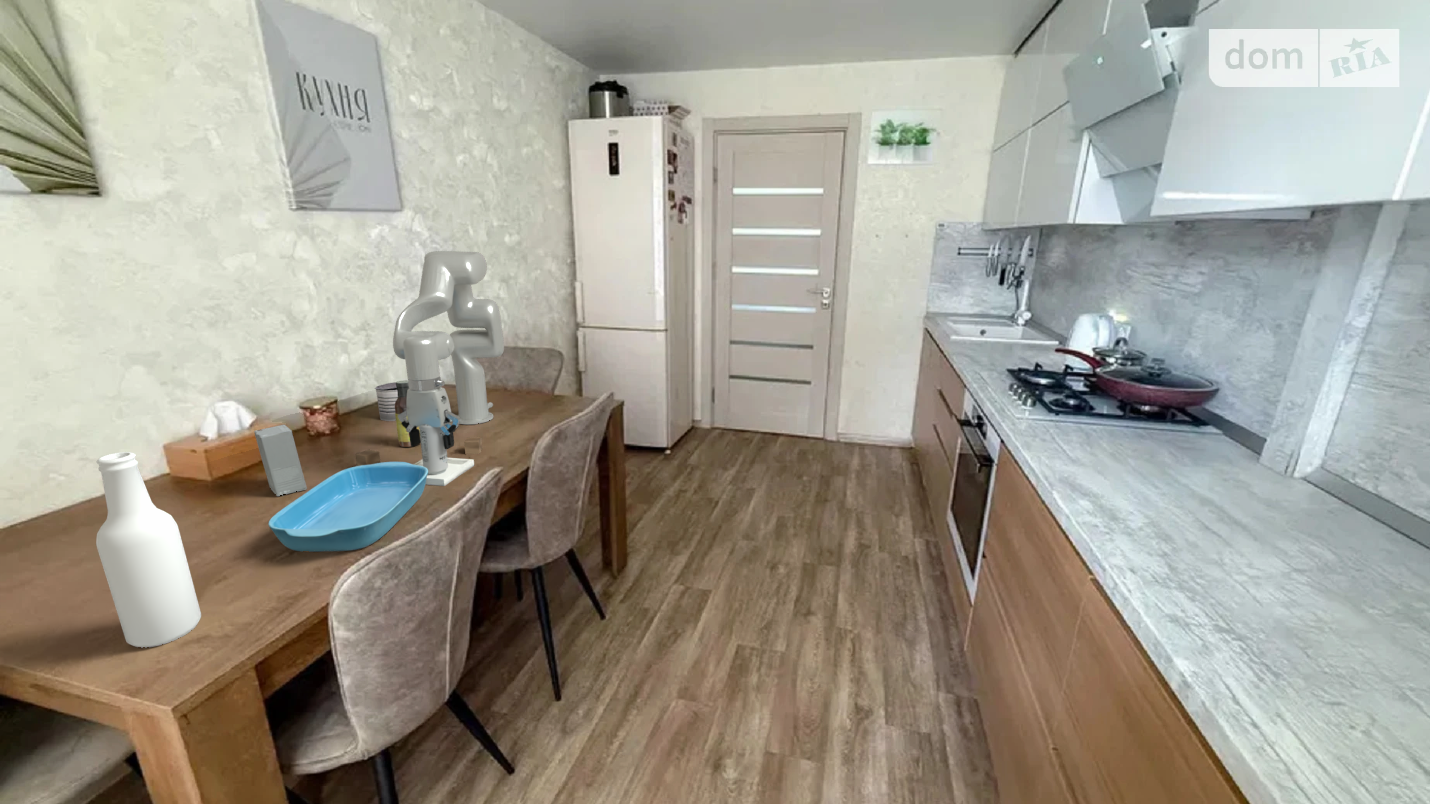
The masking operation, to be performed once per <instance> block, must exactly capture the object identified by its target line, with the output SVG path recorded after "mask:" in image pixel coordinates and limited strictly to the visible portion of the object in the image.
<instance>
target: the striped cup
mask: <svg viewBox="0 0 1430 804" xmlns="http://www.w3.org/2000/svg"><path fill="white" fill-rule="evenodd" d="M396 382H397V381H396ZM396 382H395V381H394V382H388V383H383V384H380V385H377V386H375V387H374V389H375V392H376V399H377V405H378V406H377V407H378V412H379V419H380V421H386V422H396V416H395V402H396V400H397V398H398V392H397V387H396Z"/></svg>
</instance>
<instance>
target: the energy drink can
mask: <svg viewBox="0 0 1430 804" xmlns="http://www.w3.org/2000/svg"><path fill="white" fill-rule="evenodd" d="M419 430H420V440H421V443H420V447H421V458H422V459H421V460H423V467H426V468H427V469H428V474H431V475H435V474H441V473H443V472H445V471H446V469H447V468H448V460H447V458H448V452H447V451H448V449H445V447H444V438H443V435H445V433H444V432H443V431H442V430H441V429H440V428H435V427H431V426H430V425H427V424H423V425H421V426H419Z"/></svg>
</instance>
